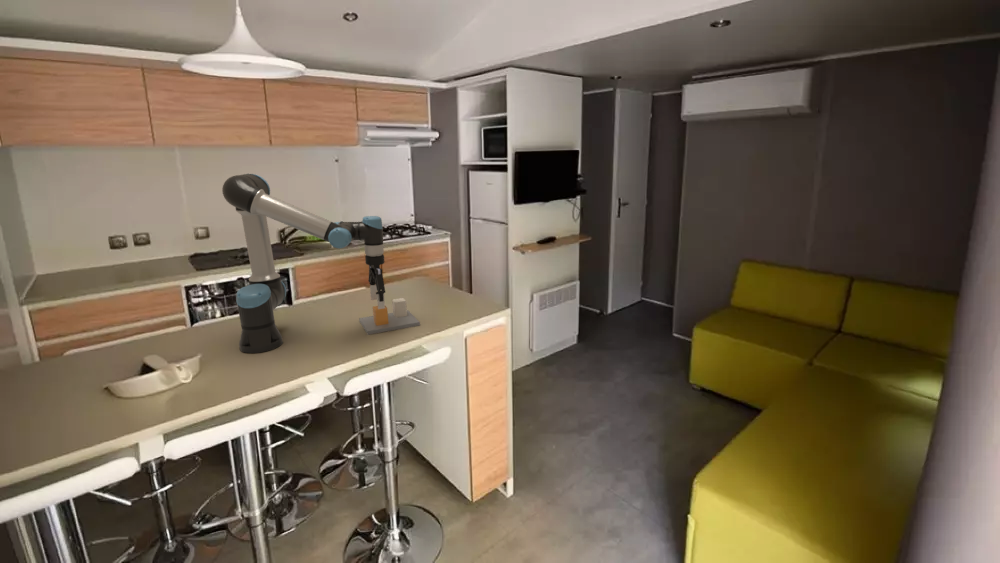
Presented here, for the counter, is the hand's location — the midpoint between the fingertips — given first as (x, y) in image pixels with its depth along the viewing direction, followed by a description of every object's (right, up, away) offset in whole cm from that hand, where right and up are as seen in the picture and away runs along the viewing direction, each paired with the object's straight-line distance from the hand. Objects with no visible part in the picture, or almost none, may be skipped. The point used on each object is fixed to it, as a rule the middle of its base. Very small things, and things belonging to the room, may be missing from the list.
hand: (377, 303), depth 203 cm
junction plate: (+3, -9, +6) cm, 11 cm away
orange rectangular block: (+1, -8, +2) cm, 9 cm away
